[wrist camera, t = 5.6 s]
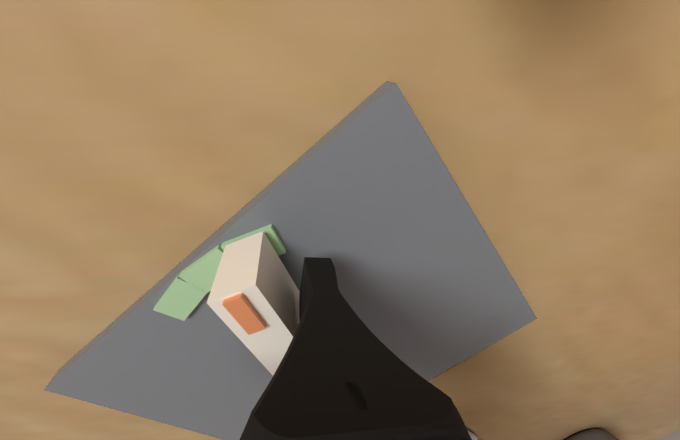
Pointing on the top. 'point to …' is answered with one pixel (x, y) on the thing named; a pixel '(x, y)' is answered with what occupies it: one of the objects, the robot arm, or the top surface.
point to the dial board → (291, 247)
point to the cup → (592, 435)
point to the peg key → (256, 298)
